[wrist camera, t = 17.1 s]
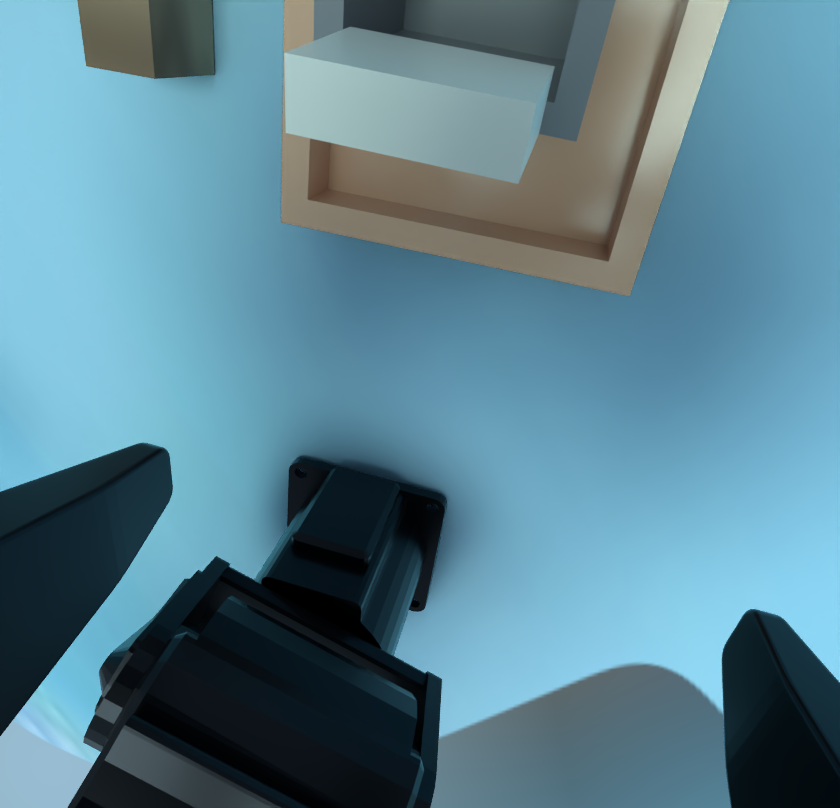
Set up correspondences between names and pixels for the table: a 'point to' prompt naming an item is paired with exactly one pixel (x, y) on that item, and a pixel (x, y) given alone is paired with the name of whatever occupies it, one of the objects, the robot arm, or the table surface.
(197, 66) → the dock
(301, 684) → the robot arm
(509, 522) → the table surface
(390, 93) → the caddy
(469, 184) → the tray
